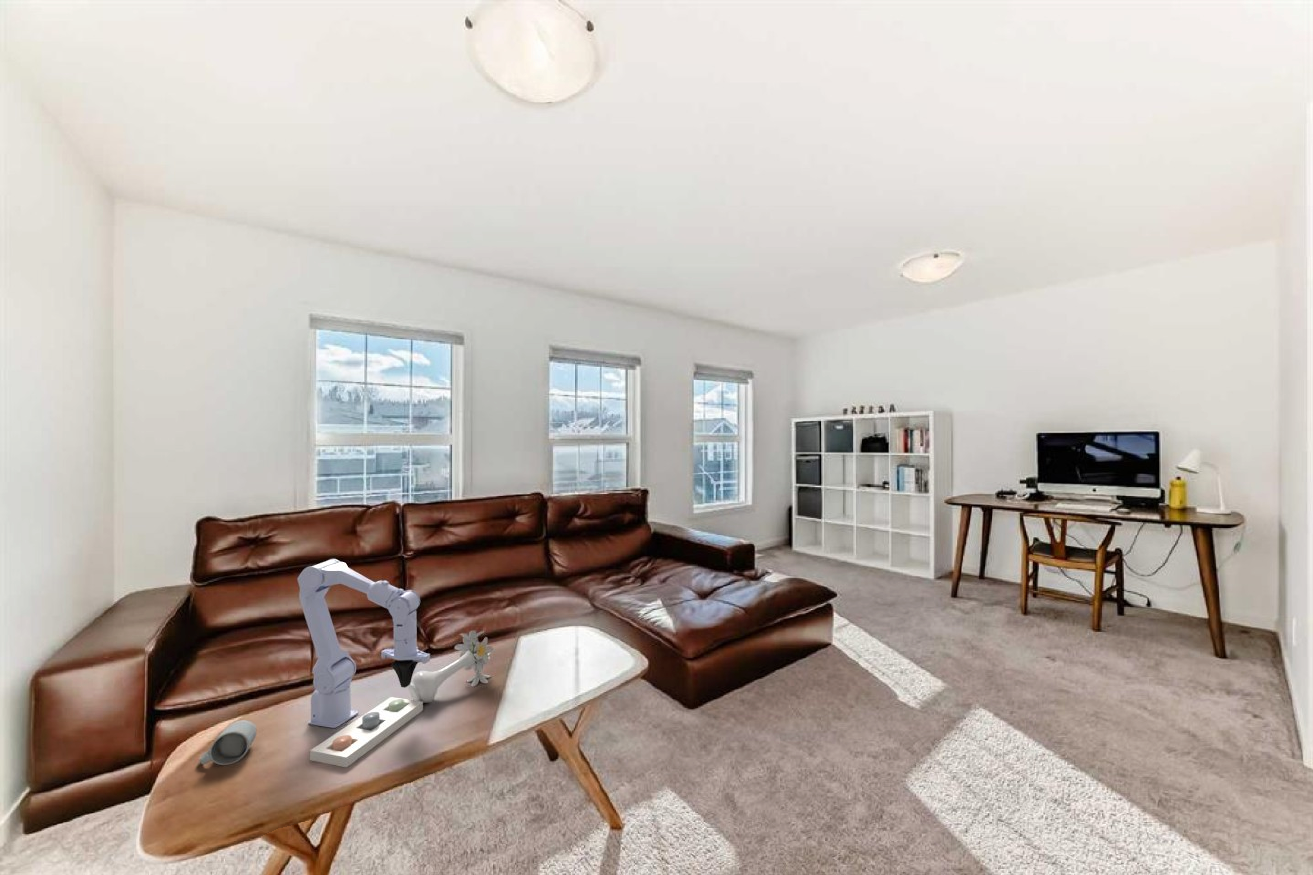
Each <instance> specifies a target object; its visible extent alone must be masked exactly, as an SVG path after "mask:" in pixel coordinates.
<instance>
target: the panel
mask: <svg viewBox="0 0 1313 875" xmlns="http://www.w3.org/2000/svg"><path fill="white" fill-rule="evenodd" d="M397 699H403V700H404V708H403V709H401V710H400V711H398V712H392V711H389V706H388V705H389V703H390V702H391V701H393V700H397ZM423 704H424V703H423V702H421V701H414V700H413V699H406V698H400V697H393V696H390V697H389V698H387V699H386V700H385V701H383V702H381V703H380V704H378V705H377V706H375V707H374V708H372V709H371V710H369V711H367V712H366V713H365V714H367V713H370V712H379V714H380V725H379V726H377V727H376V728H374V729H373V730H372V731H370V730H364V729H362V717H363V716H364V715H365V714H363V715H361V716H360V717H359V718H357V719H355V720H354V721H353V722H351V723H349V724H348V725H346V726H345V727H343V728H342V729H341V730H338V731H337V732H336V733H334V734H332V735H331V736H329V737H328V738H326V739H325V740H324V741H322V742H321V743H319V744H317V745H316V746H315V747H313V748H311V749H310V750H309V760H310V761H312V762H317V763H323V764H327V765H334V766H338V767H343V768H348V767H349V766H350V765H352V764H353V763H354V762H356V761H357V760H359V759H360V758H361V757H362V756H363V755H365V754H367V753H368V752H369V751H370V750H372V749H373V748H374V747H376V746H377V745H379V744H380V743H381V742H383V741H384V740H385V739H386V738H388V737H389V736H390V735H392V734H393V733H394V732H395V731H397V730H398V729H399V728H401V727H402V726H404V725H405V724H406V723H408V722H409V721H411V720H412V719H413V718H414V717H416V716H417V715H418V714H419V713H421V712H423V710H424V705H423ZM344 735H350V736H351V740H352V745H350V746H349V747H348V748H346V749H345V750H343V751H342V752H341V751H335V750H333V741H334V740H335V739H336V738H338V737H340V736H344Z"/></svg>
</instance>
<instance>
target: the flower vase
mask: <svg viewBox="0 0 1313 875" xmlns="http://www.w3.org/2000/svg"><path fill="white" fill-rule="evenodd" d="M484 632H485V631H484V630H482V631H479V632H477V631H476V630H470V631H469V633H459V635H460V636H462V643H458V644H456V645H454V650H456V651H460V655H459V658H458V659H457V660H455V661H454V662H451V663H450V664H448V665H446V666H445V667H443V668H441V669H438V670H435V671H427V670H420V671H417V672H415V673H413V675H412V679H411V683H410V685H409V686H407V690H408V692H409V695H410V697H411V700H414V701H421V702H423V704H424V703H425V704H427V703H430V702H432V701H433V700H434V699H435V697H436V695H437V693H438V690H439V689H440V687H441V685H442V684H443V683H444V682H445V681H447V679H449V678H450V677H451V676H453V675H454V674H456V673H457V672H459V671H460V670H462V669H464V670H465V671H469V670H471V669H473V670H474V673H475V675H473V676H472V677H470V678H469V679H467V680H466V681H467V683H470V686H471V687H475V686H477V685H478V684H479V682H481V683H482V684H489V680H488V679H489V678H491V677H492V676H491V675H488V674H484V673H481V672H482V671H483V667H484V665H487V664H489V662H490V661H489V660H490V659H491V657H490V654H491V653H492V652H493V651H494V647H493V646H487V645H488V637H487V636H485V637H484V639H483V640H482V641H481V642H479V638H478V637H479V636H481V635H482V634H484Z"/></svg>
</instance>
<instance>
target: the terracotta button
mask: <svg viewBox="0 0 1313 875" xmlns="http://www.w3.org/2000/svg"><path fill="white" fill-rule="evenodd" d="M350 745H352V740H351V736H350V735H344V736H340V737H338V738H336V739H335V740H334V741H333V750H335V751H341V752H342V751H343V750H345V749H346V748H348V747H349V746H350Z"/></svg>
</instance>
